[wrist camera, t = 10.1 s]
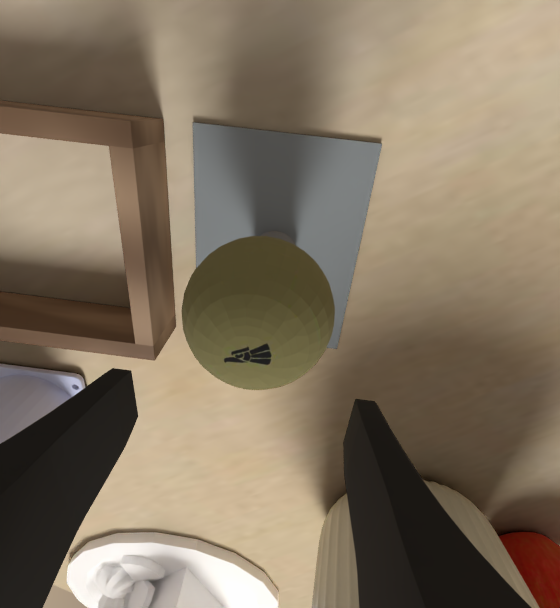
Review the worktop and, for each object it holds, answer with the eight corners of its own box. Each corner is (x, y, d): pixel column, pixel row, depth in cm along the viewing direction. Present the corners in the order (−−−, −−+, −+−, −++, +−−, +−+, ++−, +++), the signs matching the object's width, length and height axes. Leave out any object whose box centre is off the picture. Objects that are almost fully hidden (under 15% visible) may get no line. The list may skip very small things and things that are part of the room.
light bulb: (293, 173, 17) (273, 238, 9) (345, 263, 19) (372, 389, 11) (206, 230, 19) (117, 331, 10) (262, 307, 21) (228, 445, 12)
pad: (336, 347, 22) (337, 348, 22) (198, 329, 23) (197, 331, 22) (381, 143, 16) (382, 144, 16) (194, 122, 17) (192, 122, 17)
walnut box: (175, 326, 23) (154, 360, 20) (-63, 296, 23) (-120, 325, 20) (163, 118, 17) (129, 120, 14) (-158, 82, 17) (-260, 76, 14)
